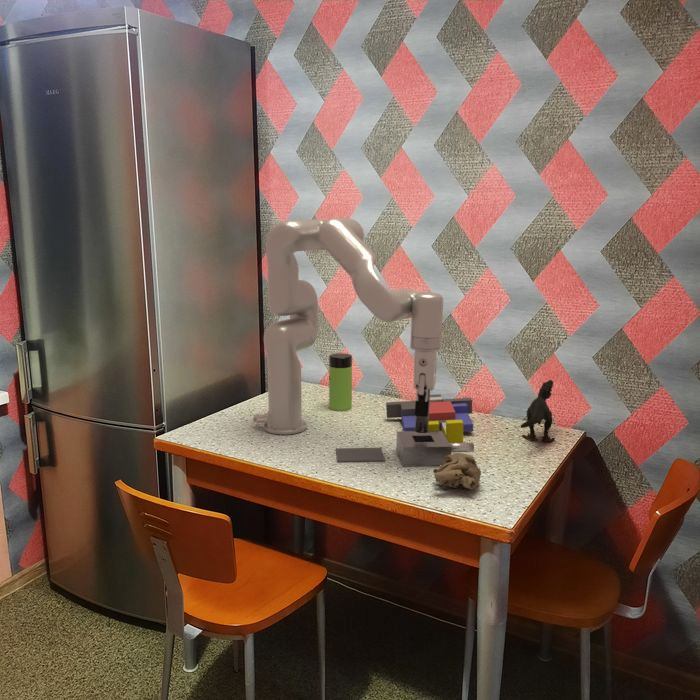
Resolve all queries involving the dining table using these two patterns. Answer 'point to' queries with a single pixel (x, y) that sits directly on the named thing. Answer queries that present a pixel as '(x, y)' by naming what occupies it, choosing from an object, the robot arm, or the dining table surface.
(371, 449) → the mat
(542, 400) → the toy
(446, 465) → the tan lumpy mass
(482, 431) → the dining table surface
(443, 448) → the block
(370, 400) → the dining table surface
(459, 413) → the toy
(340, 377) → the tumbler
